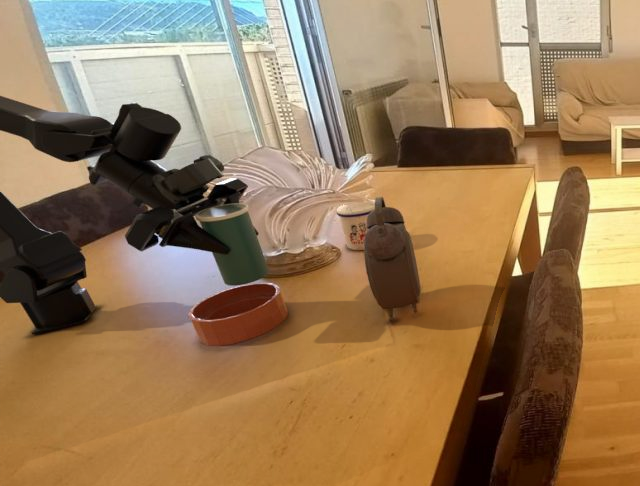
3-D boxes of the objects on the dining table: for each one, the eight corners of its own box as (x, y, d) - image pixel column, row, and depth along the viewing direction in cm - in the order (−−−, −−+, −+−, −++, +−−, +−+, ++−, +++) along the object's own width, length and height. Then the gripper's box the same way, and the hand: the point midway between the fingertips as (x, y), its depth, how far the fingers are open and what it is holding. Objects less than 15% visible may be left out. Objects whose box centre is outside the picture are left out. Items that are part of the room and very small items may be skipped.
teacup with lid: (349, 255, 104) (335, 205, 100) (343, 241, 111) (330, 194, 107) (406, 240, 111) (395, 193, 106) (397, 229, 117) (387, 184, 113)
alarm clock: (380, 292, 88) (354, 191, 81) (421, 284, 91) (400, 185, 83) (377, 334, 76) (345, 219, 68) (425, 323, 79) (400, 211, 71)
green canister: (222, 290, 76) (194, 221, 71) (222, 275, 80) (195, 209, 76) (273, 277, 79) (249, 210, 75) (269, 263, 84) (246, 200, 80)
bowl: (194, 358, 72) (181, 330, 70) (206, 321, 81) (195, 296, 79) (288, 331, 78) (278, 305, 76) (288, 300, 87) (280, 276, 85)
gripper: (109, 159, 62) (222, 233, 67) (217, 131, 80) (302, 191, 84) (77, 216, 65) (188, 283, 70) (188, 177, 83) (271, 233, 87)
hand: (243, 243), depth 78 cm, fingers closed on green canister, 6 cm apart
